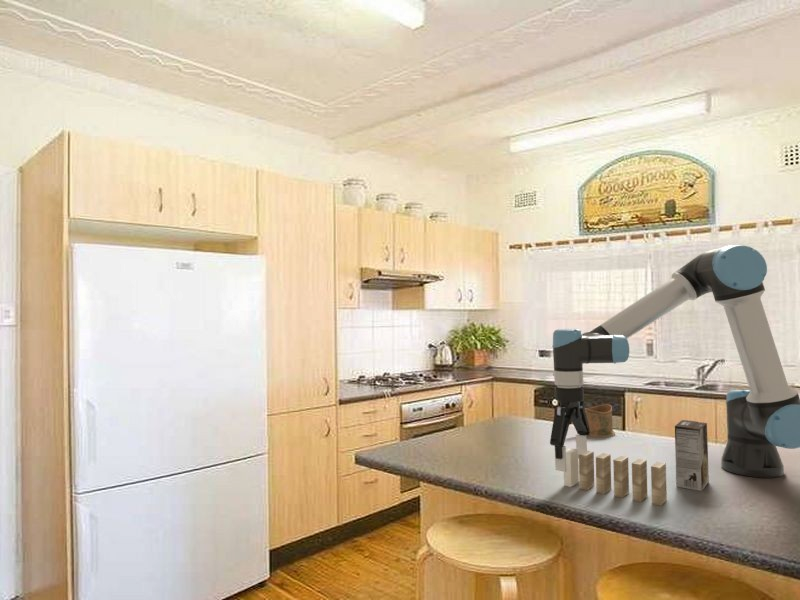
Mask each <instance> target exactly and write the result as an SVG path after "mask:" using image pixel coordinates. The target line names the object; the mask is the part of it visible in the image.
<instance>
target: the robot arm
mask: <svg viewBox="0 0 800 600" xmlns="http://www.w3.org/2000/svg"><path fill="white" fill-rule="evenodd" d="M767 273H768V265H767V262H766V260H765V258H764V256H763V255H762V253H761V252H759V251H758V250H757V249H755V248H753V247H751V246H748V245H742V244H741V245H740V244H739V245H733V244H731V245H725V246H724V247H720V248H716V249H711V250H707V251H704V252H702V253H700V254H699V255H697V256H696V257H694V258H693V259H691V260H689V262H687V263H686V264H685V265H683V266H682V267H680V268H679V269H677V270H676V271H674V272H673V273H672V274H671V278H670V279H669V280H667V281H666V282H664V283H662V284H661V285H659V286H658V287H656V288H655V289H653V290H652V291H650V292H648V294H646V295H644V296H643V297H641V298H639V299H638V300H637V301H635V302H633V303H632V304H630V305H628V306H627V307H626V308H624V309H623V310H621V311H619V312H618V313H617V314H615V315H614V316H612V317H610V318H609V319H607V320H605V321H604V322H603V323H601V324H600V325H598V326H597V327H595V328H593V329H592V330H590V331H587V332H584V333H582V330H581V329H579V328H559V329H555V330H554V331H553V333H552V352H553V353H552V354H553V355H552V356H553V359H552V360H553V373H552V376H553V379H554V380H553V381H554V382H553V383H554V385H555V387H554V399H555V401H556V402H560V406H554V411H553V412H554V416H553V422H552V427H551V428H552V429H551V433H550V439H549V444H550V446H552V447H553V446H554V465H555V467H554V468H555V471H559V472H563V473H564V472H566V471H567V469H566V450H567V446H566V445H565V442H566V438H567V436H568V435H567V434H568V431H569V427H570V425H573V426H574V429H575V431H576V433H577V434H576V435H575V446H576V447H575V449H578V460H579V454H580V453H582V452H584V451H586V450H587V451H588V447H587V446H588V445H587V444H588V443H587V435H590V432H589V431H590V428H589V424H588V420H587V416H586V412H585V402H584V399H585V394H584V387H583V385H584V371H583V370H584V368H583V364H585V365H586V364H614V365H615V364H617V363H618V364H619V363H621V364H622V363H625V362H627V360H628V359H629V357H630V343H629V340H628V339H629V338H630V337H633V336H634V335H636V334H637V333H638V332H641V331H642V330H643V329H645V328H647V327H648V326H650V325H651V324H652V323H654V322H656V321H657V320H659V319H660V318H662V317H663V316H665V315H667V314H668V313H670V312H671V311H673V310H675V309H676V308H677V307H679V306H680V305H683V304H684V303H685V302H686V301H696V300H697V299H698V298H700V297H702V296H704V295H706V294H709V293H712V296H713V298H714V301H715V303H717V304H719V305H721V306H722V307H723V309H724V312H725V315H726V318H727V321H728V324H729V327H730V331H731V334H732V338H733V341H734V345H735V347H736V349H737V352H738V357H739V359H740V363H741V365H742V369H743V372H744V375H745V378H746V382H747V385H748V388H749V389H731V390H729V391H728V392H727V393H726V400H725V404H726V426H727V427H726V428H727V429H726V430H727V431H726V432H727V441H726V444H725V448H724V449H723V453H722V456H721V459H720V460H721V462H720V463H721V465H720V466H721V468H722V469H723V470H725V471H727V472H729V473H733V474H737V475H739V476H740V475H741V476H746V477H755V478H768V479H771V478H779V477H783V476H784V475H785V473H784V472H785V467H784V463H783V460H782V459H781V455H780V454H779V451H778V448H783V449H789V450H795V449H799V448H800V395H799V393H798V390H797V389H795V388H793V387H791V386H790V385H789V383H788V382H787V378H786V374H785V371H784V367H783V365H782V362H781V359H780V356H779V353H778V350H777V346H776V343H775V340H774V337H773V333H772V330H771V328H770V324H769V321H768V317H767V314H766V312H765V308H764V306H763V302H762V296H763V294H764V292H765V291H766V289H765V286H764V280H765V278H766V276H767ZM585 426H586V427H585ZM777 447H778V448H777Z"/></svg>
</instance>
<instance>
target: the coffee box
mask: <svg viewBox="0 0 800 600" xmlns="http://www.w3.org/2000/svg"><path fill="white" fill-rule="evenodd" d="M708 443H709V442H708V423H707V422H701V421H700V422H699V421H695V420H688V419H687V420H685V419H682V420H680V421H679V422H678V423H677V424H675V425H674V447H675V449H674V450H675V454H674V455H675V486H676V487H678V488H684V489H688V490H694V491H698V492H703V490H704V489H706V488H705V487H706V486H707V484H708V483H709V482H710V480H709V479H710V476H709V450H708V448H709V445H708Z"/></svg>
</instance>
